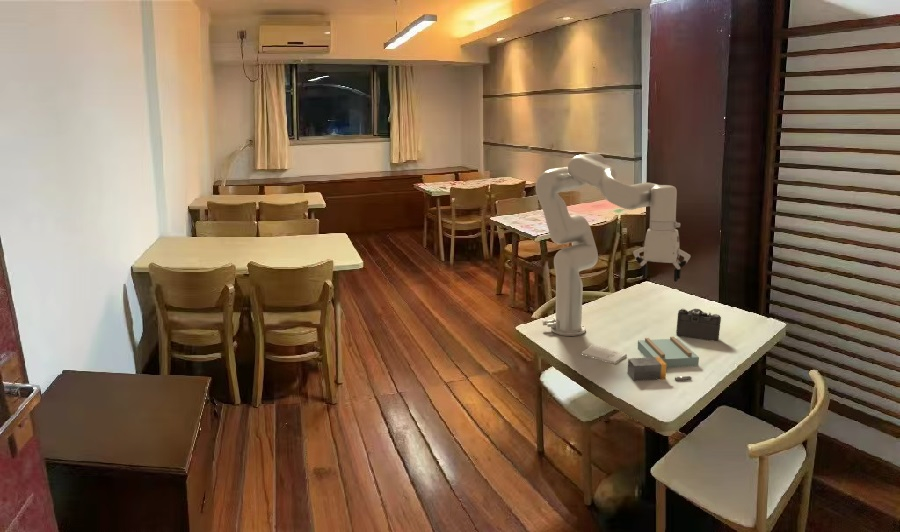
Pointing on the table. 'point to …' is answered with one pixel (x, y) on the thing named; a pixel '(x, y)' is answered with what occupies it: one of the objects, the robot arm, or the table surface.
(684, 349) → the stand
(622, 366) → the table surface
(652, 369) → the block
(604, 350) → the external hard drive
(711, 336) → the camera
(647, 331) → the table surface
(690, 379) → the grey metal rounded bar
